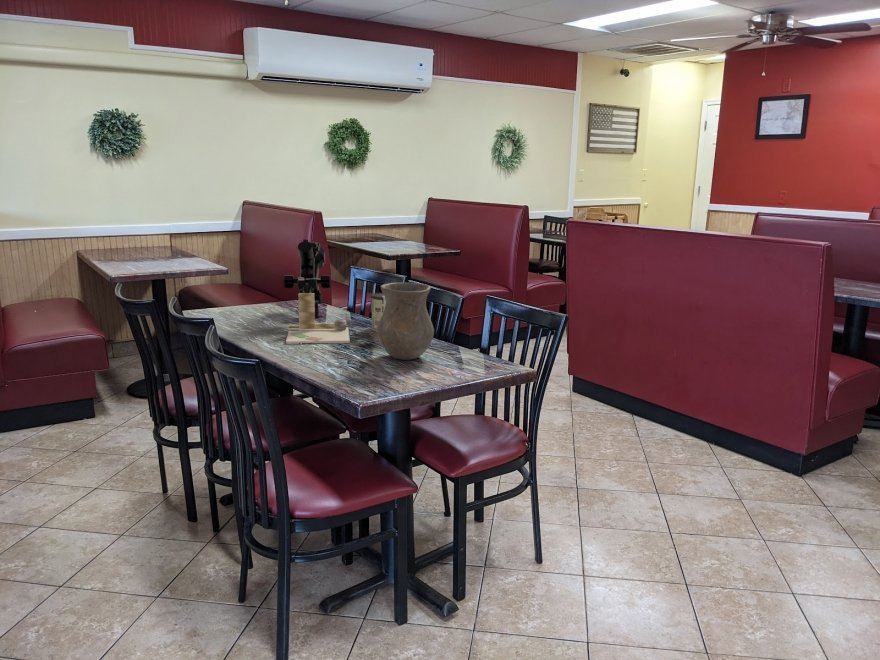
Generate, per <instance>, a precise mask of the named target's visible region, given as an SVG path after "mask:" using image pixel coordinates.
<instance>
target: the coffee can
mask: <svg viewBox="0 0 880 660" xmlns="http://www.w3.org/2000/svg"><path fill="white" fill-rule="evenodd" d="M383 295H384V294H383V292H377V293H372V294H371V295H370V296H371V331H373V330H375V331H374V332H377V327H378V325H379V322H380V320H381V317H382V297H383Z"/></svg>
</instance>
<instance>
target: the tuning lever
mask: <svg viewBox="0 0 880 660" xmlns="http://www.w3.org/2000/svg"><path fill="white" fill-rule="evenodd" d="M346 327H347V320H345V319H335V320H334V322H332V323H331V322H329V323H323V322H322V323H319V322H318V323H316V318H315V301H314V293H300V292H299V293H298V325H297V326H294V325H293V326H291V325H289V326H288V329H289V328H299V329H338V330H344V329H346Z"/></svg>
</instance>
